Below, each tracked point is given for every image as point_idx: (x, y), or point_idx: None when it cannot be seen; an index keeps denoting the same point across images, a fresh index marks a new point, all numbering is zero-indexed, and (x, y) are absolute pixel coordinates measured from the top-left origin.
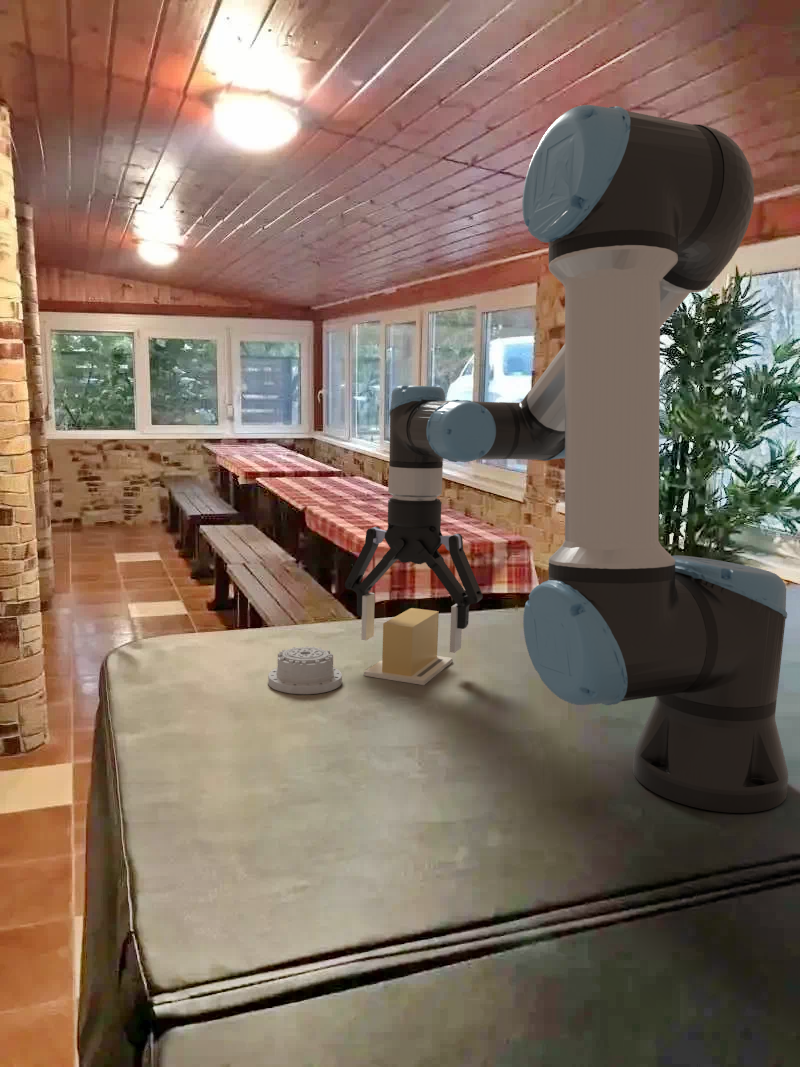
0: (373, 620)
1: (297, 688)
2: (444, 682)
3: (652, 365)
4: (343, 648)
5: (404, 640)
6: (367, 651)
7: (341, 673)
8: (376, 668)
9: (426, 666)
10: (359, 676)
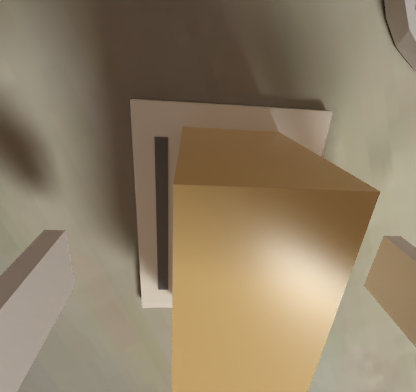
0: (405, 327)
1: None
2: (91, 152)
3: None
4: None
5: (219, 159)
6: (350, 289)
7: (406, 12)
8: None
9: None
10: (337, 99)
